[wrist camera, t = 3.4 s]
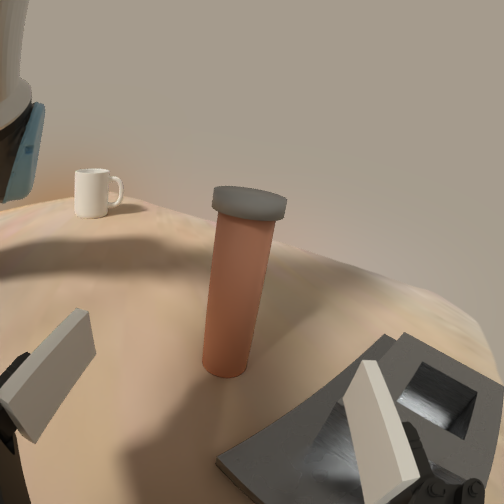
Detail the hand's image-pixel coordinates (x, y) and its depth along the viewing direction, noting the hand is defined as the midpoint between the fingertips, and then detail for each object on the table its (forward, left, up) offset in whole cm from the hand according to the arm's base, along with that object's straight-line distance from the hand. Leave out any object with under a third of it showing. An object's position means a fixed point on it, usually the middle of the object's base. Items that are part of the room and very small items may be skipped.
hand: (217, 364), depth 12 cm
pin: (+7, +7, -9) cm, 13 cm away
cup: (+8, +58, -9) cm, 59 cm away
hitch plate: (+12, -10, -9) cm, 18 cm away
